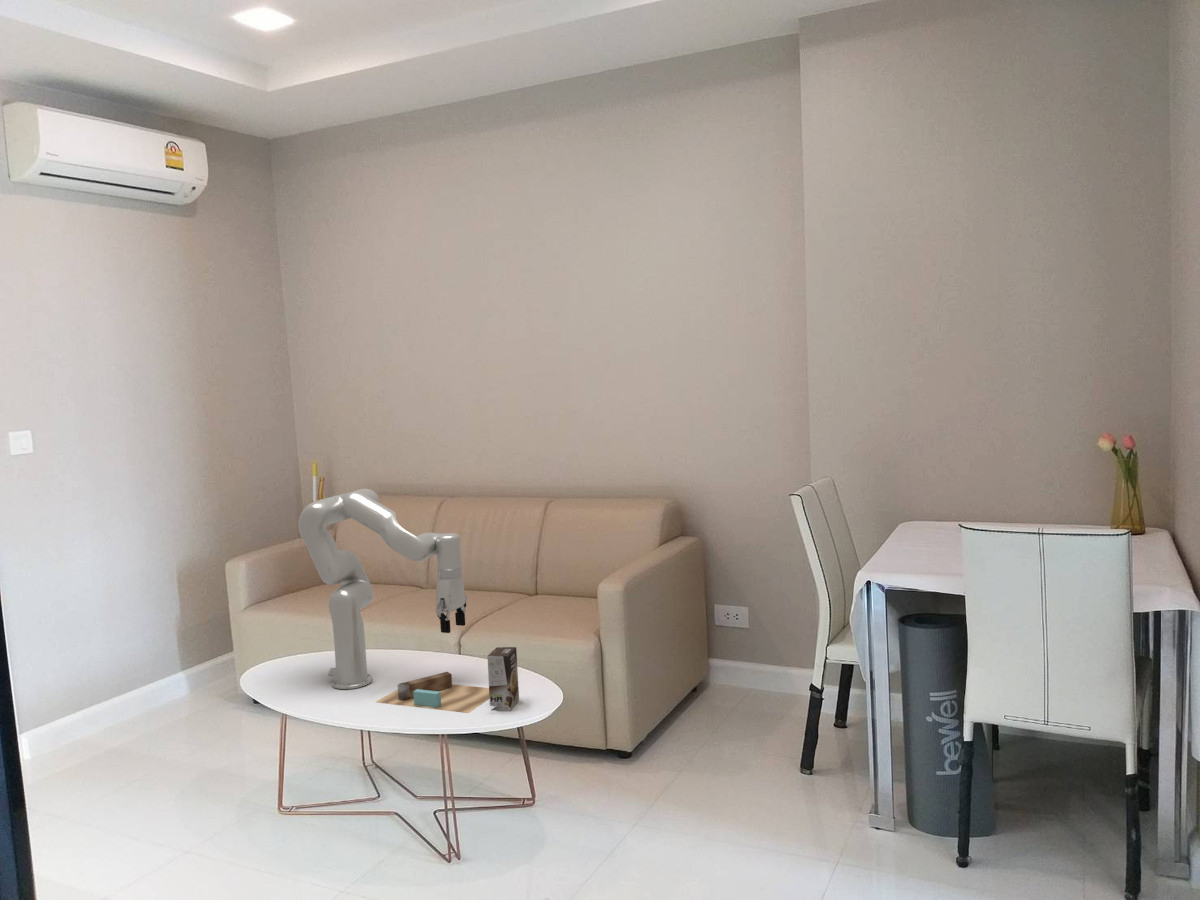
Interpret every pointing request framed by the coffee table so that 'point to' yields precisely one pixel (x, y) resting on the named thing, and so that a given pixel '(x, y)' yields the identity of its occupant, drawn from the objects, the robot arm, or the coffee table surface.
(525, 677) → the coffee table surface
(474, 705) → the stool top
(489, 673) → the coffee box
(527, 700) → the coffee table surface
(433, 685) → the folding leg
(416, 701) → the stop block
